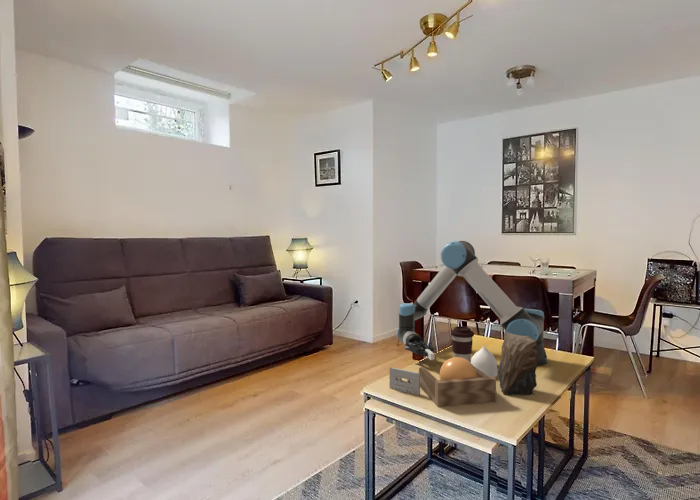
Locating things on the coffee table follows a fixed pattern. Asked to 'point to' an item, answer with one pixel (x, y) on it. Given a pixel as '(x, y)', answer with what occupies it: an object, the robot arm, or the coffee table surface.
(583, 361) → the coffee table surface
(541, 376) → the coffee table surface
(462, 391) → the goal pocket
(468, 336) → the coffee cup
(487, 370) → the teardrop
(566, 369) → the coffee table surface
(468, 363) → the ball
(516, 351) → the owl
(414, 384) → the cassette
